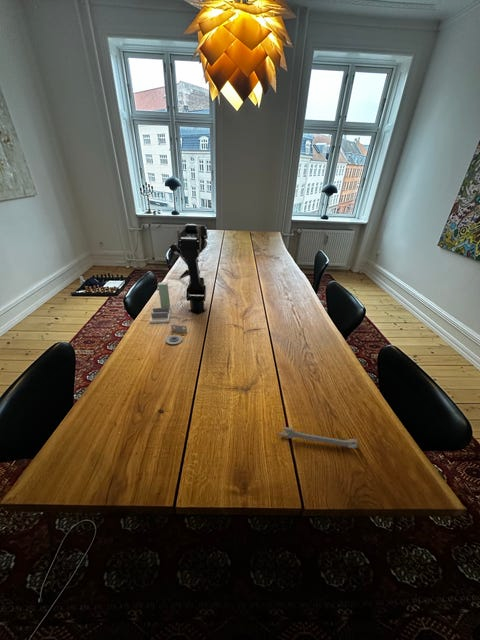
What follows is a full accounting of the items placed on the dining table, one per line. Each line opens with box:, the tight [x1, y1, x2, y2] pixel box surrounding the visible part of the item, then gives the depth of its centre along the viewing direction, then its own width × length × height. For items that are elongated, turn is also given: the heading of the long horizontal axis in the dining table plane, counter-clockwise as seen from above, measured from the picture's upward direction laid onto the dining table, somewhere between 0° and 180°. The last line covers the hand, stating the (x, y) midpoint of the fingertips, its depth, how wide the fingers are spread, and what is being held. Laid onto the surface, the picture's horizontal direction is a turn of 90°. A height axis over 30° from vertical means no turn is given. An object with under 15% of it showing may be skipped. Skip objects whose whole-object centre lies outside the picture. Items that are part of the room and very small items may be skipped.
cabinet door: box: [156, 282, 171, 309], centre depth 124 cm, size 5×2×12 cm, turn 98°
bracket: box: [165, 324, 188, 345], centre depth 104 cm, size 7×10×4 cm, turn 174°
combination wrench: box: [278, 427, 359, 449], centre depth 66 cm, size 4×1×20 cm
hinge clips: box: [149, 307, 172, 324], centre depth 117 cm, size 8×10×4 cm
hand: (174, 272), depth 129 cm, fingers open, 9 cm apart
